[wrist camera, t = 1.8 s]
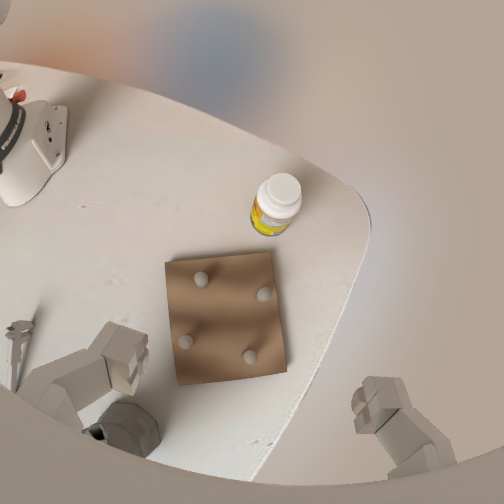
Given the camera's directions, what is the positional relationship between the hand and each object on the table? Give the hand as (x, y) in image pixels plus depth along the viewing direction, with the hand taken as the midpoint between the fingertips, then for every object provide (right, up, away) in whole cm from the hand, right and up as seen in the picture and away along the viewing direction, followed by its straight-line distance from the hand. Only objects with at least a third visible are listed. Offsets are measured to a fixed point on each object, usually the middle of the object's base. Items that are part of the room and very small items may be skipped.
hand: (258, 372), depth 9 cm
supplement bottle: (+2, +9, +32) cm, 33 cm away
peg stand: (-4, -5, +27) cm, 28 cm away
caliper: (-37, -16, +20) cm, 45 cm away
